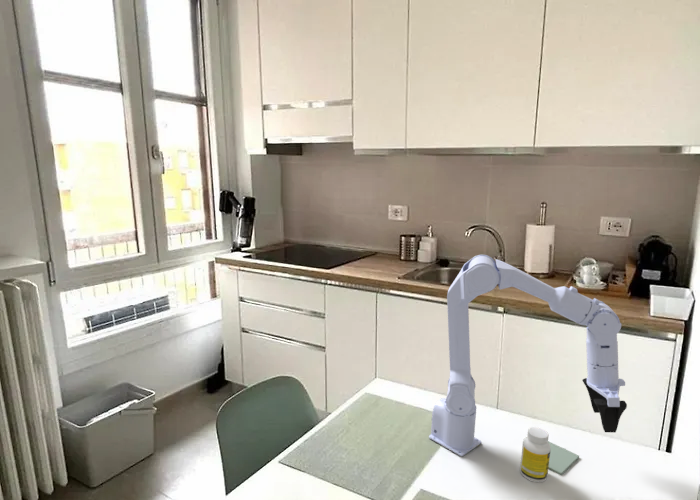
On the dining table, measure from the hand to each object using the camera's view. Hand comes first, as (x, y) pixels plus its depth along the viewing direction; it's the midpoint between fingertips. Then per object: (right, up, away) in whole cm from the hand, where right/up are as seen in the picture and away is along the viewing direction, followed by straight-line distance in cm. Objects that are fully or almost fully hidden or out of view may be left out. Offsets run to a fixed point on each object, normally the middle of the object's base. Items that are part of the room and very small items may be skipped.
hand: (604, 421), depth 99 cm
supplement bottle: (-15, -11, -1) cm, 19 cm away
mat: (-9, -10, +5) cm, 14 cm away
